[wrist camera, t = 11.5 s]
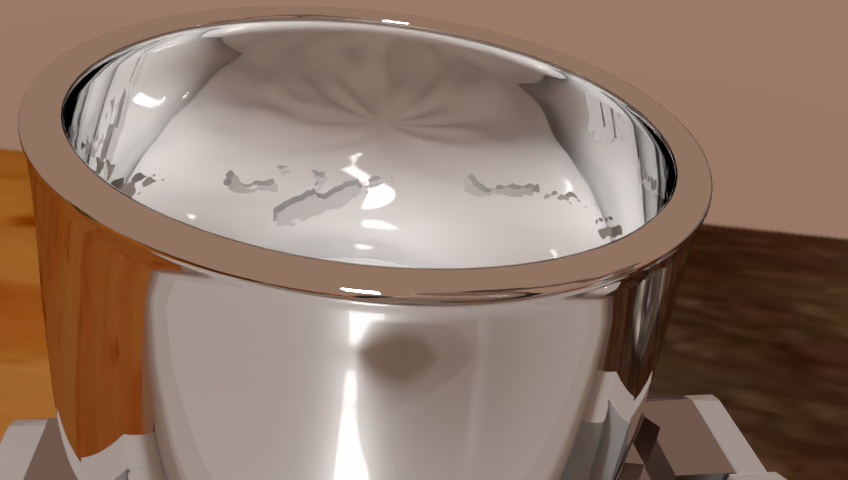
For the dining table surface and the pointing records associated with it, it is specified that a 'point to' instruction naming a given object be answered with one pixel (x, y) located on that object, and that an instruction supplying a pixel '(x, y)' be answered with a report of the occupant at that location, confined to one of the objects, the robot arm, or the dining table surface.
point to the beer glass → (351, 249)
